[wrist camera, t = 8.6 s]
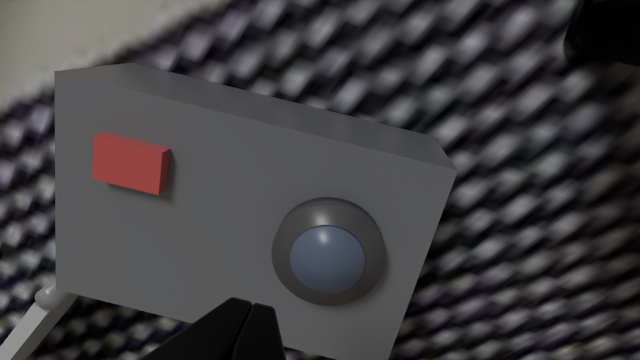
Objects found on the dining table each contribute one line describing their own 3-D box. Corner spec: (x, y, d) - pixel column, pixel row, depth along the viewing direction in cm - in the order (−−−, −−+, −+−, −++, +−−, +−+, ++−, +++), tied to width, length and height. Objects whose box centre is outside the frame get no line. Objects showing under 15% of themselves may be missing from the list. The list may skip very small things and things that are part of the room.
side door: (35, 352, 24) (-36, 421, 20) (14, 337, 24) (-63, 404, 20) (123, 246, 21) (62, 300, 17) (100, 228, 21) (31, 278, 17)
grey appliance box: (432, 136, 18) (465, 180, 12) (377, 300, 21) (384, 394, 16) (133, 62, 18) (31, 73, 13) (122, 236, 21) (37, 307, 16)
